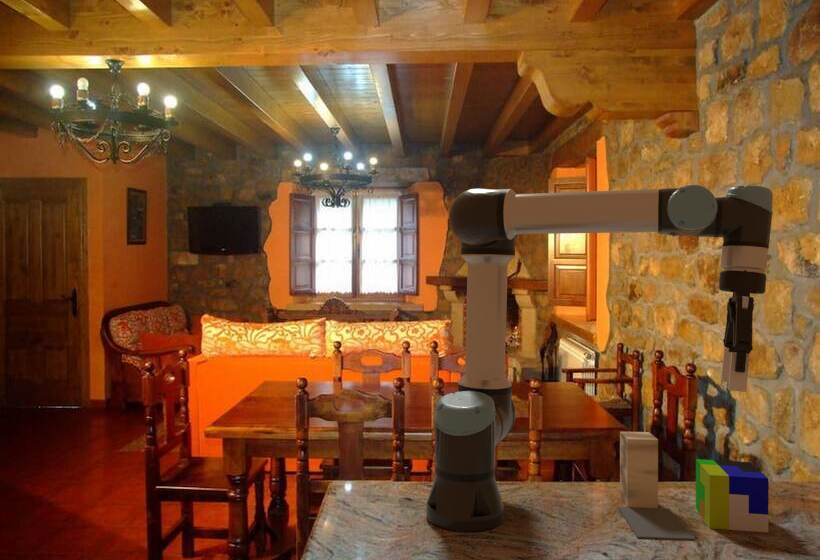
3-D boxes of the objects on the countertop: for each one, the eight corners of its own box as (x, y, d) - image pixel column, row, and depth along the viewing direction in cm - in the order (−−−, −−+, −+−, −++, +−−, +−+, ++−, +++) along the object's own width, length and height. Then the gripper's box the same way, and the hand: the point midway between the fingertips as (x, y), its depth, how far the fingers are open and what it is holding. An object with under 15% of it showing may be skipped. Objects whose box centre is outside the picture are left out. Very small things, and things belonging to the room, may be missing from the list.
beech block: (619, 497, 130) (619, 431, 130) (649, 498, 130) (649, 432, 129) (627, 508, 124) (627, 439, 124) (657, 508, 124) (658, 439, 123)
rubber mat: (618, 508, 124) (618, 507, 124) (669, 510, 123) (669, 508, 123) (637, 538, 110) (637, 536, 110) (695, 540, 109) (695, 538, 109)
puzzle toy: (768, 532, 112) (768, 478, 112) (709, 528, 114) (709, 474, 114) (749, 512, 122) (749, 462, 122) (695, 508, 124) (695, 459, 124)
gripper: (779, 268, 100) (767, 398, 99) (756, 276, 123) (746, 381, 122) (727, 265, 102) (715, 391, 102) (714, 273, 125) (705, 376, 125)
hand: (732, 386), depth 112 cm, fingers open, 13 cm apart
